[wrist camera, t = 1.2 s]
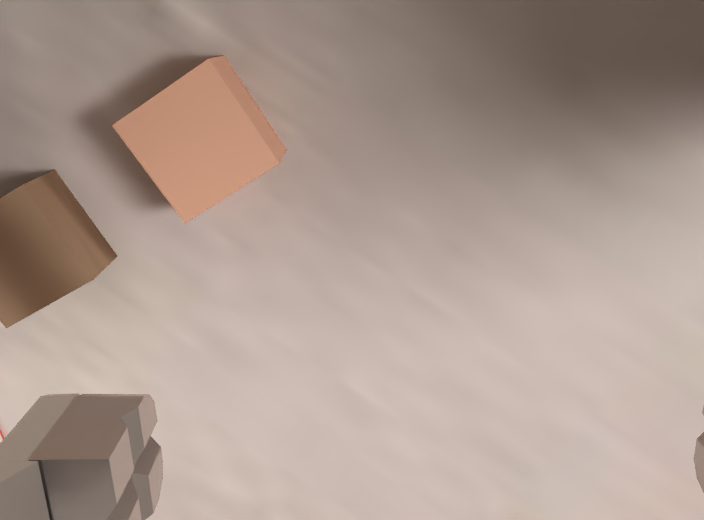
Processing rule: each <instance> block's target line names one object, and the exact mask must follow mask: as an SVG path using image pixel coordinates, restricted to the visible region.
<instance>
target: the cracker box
mask: <svg viewBox="0 0 704 520" xmlns="http://www.w3.org/2000/svg"><path fill="white" fill-rule="evenodd" d="M3 440H4V437H3V435H2V432H1V430H0V443H1V442H2V441H3Z"/></svg>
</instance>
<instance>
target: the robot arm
mask: <svg viewBox="0 0 704 520" xmlns="http://www.w3.org/2000/svg"><path fill="white" fill-rule="evenodd" d="M702 413H703V415H704V407H703V411H702ZM156 423H157V415H156V409H155V403H154V400H153V399H152V397H151V396H150V395H149V394H82V395H80V394H53V395H45V396H41V397H40V398H39V399H38V400H37V401H36V402H35V404H34V405H33V406H32V407H31V408H30V409H29V411H28V412H27V413H26V414H25V415H24V416H23V418H22V419H21V420H20V421H19V422H18V423H17V425H16V426H15V427H14V428H13V429H12V431H11V432H10V433H9V434H8V435H7V436H6V438H5V439H4V440H3V441H2V442H1V443H0V520H145V519H146V518H148V517H149V516H150V515H152V514H153V513H154V511H155V508H156V505H157V503H158V500H159V496H160V490H161V484H162V479H163V460H162V452H161V447H160V446H159V444H158V443H157V442H156V441H155V440H154V439H153V438H152V437H151V433H152V431H153V429H154V427H155V425H156ZM694 463H695V469H696V475H697V479H698V481H699V484H700V486H701V488H702V490H703V492H704V432H703V433H702V434H701V435H700V436H699V437H698V438H697V441H696V448H695V454H694Z"/></svg>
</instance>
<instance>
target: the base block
mask: <svg viewBox="0 0 704 520" xmlns="http://www.w3.org/2000/svg"><path fill="white" fill-rule="evenodd" d="M116 257H117V255H116V253H115V252H114V251H113V249H112V248H111V247H110V245H109V244H108V242H107V241H106V240H105V238H104V237H103V236H102V234H101V233H100V231H99V230H98V229H97V227H96V226H95V224H94V223H93V222H92V220H91V219H90V218H89V216H88V215H87V213H86V212H85V211H84V209H83V208H82V207H81V205H80V204H79V202H78V201H77V200H76V198H75V197H74V195H73V194H72V193H71V191H70V190H69V189H68V187H67V186H66V184H65V183H64V182H63V180H62V179H61V178H60V176H59V175H58V173H57V172H56V171H55V170H53V171H50V172H48V173H46V174H44V175H42V176H40V177H38V178H36V179H33V180H31V181H29V182H27V183H25V184H23V185H21V186H19V187H18V188H16V189H14V190H13V191H11V192H9V193H8V194H6V195H4V196H3V197H1V198H0V321H1V322H2V324H3V325H4V326H5V327H6V328H8V327H10V326H11V325H13V324H15V323H17V322H18V321H20V320H22V319H24V318H26V317H27V316H29V315H31V314H33V313H34V312H36V311H38V310H40V309H42V308H43V307H45V306H47V305H49V304H50V303H52V302H54V301H56V300H58V299H59V298H61V297H63V296H65V295H66V294H68V293H70V292H72V291H74V290H75V289H77V288H79V287H81V286H82V285H84V284H86V283H88V282H90V281H91V280H93V279H94V278H95V277H96V276H97V275H98V274H99V273H100V272H101V271H102V270H103V269H105V268H106V267H107V266H108V265H109V264H110V263H111V262H112V261H113V260H114V259H115V258H116Z"/></svg>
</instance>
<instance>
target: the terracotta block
mask: <svg viewBox="0 0 704 520" xmlns="http://www.w3.org/2000/svg"><path fill="white" fill-rule="evenodd" d="M112 126H113V128H114V129H115V130H116V132H117V133H118V134H119V136H120V137H121V138H122V140H123V141H124V143H125V144H126V145H127V147H128V148H129V149H130V151H131V152H132V153H133V155H134V156H135V157H136V159H137V160H138V161H139V163H140V164H141V165H142V167H143V168H144V169H145V171H146V172H147V173H148V175H149V176H150V177H151V179H152V180H153V181H154V183H155V184H156V185H157V187H158V188H159V189H160V191H161V192H162V193H163V195H164V196H165V198H166V199H167V200H168V202H169V203H170V204H171V206H172V207H173V208H174V210H175V211H176V212H177V214H178V215H179V216H180V218H181V219H182V220H183V222H184V223H186V222H188V221H190V220H191V219H193V218H194V217H196V216H197V215H199V214H201V213H202V212H204V211H205V210H207V209H208V208H210V207H212V206H213V205H215V204H216V203H218V202H219V201H221V200H222V199H224V198H226V197H227V196H229V195H230V194H232V193H233V192H235V191H237V190H238V189H240V188H241V187H243V186H244V185H246V184H248V183H249V182H251V181H252V180H254V179H255V178H257V177H258V176H260V175H262V174H263V173H265V172H266V171H268V170H269V169H271V168H273V167H274V166H276V165H277V164H279V163H280V161H281V159H282V158H283V156H284V154H285V152H286V151H287V150H286V148H285V147H284V145H283V144H282V142H281V141H280V139H279V138H278V136H277V134H276V133H275V131H274V130H273V128H272V127H271V125H270V124H269V122H268V121H267V119H266V118H265V116H264V115H263V113H262V112H261V110H260V109H259V107H258V106H257V104H256V103H255V101H254V100H253V98H252V97H251V95H250V94H249V92H248V91H247V89H246V88H245V86H244V85H243V83H242V82H241V80H240V79H239V77H238V76H237V74H236V73H235V71H234V70H233V68H232V67H231V65H230V64H229V62H228V61H227V59H226V58H225V56H219V57H213V58H209V59H207V60H206V61H204V62H203V63H201V64H200V65H198V66H197V67H196V68H194V69H193V70H191V71H190V72H188V73H187V74H185V75H184V76H183V77H181V78H180V79H178V80H177V81H175V82H174V83H172V84H171V85H170V86H168V87H167V88H165V89H164V90H162V91H161V92H159V93H158V94H157V95H155V96H154V97H152V98H151V99H149V100H148V101H146V102H145V103H144V104H142V105H141V106H139V107H138V108H136V109H135V110H133V111H132V112H131V113H129V114H128V115H126V116H125V117H123V118H122V119H120V120H119V121H118V122H116V123H115V124H113V125H112Z"/></svg>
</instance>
